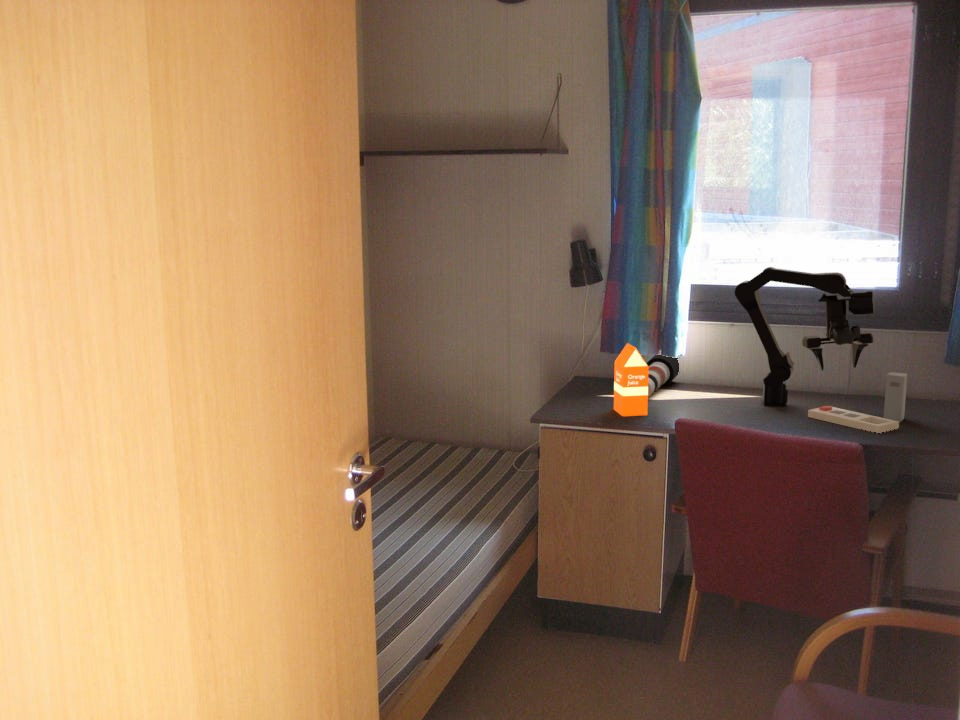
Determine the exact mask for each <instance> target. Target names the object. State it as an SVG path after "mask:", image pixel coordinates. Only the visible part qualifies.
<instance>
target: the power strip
mask: <svg viewBox="0 0 960 720" xmlns="http://www.w3.org/2000/svg"><path fill="white" fill-rule="evenodd" d="M807 418H811V419H815V420H820V421H823V422H829V423H832V424H837V425H842V426H845V427H849V428H853V429H856V430H861V429H862V430H861V431H865V430H866V431H865V432H870V431H871V433H874V432H876V433H875V434H878V433H880V434H883V433H882V432H884V433H887V432H890V430H891V431H895V430H899V429H898V428H900V422H899V421H894V420H890V419H885V418H884V417H880V416H875V415H871V414H867V413H863V412H862V413H861V412H857V411H853V410H849V409H845V408H844V409H843V408H839V407H834V406H831V405H823V406H819V407H817V408H811V409H808V410H807ZM894 429H895V430H894ZM886 431H887V432H886Z"/></svg>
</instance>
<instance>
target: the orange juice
mask: <svg viewBox="0 0 960 720" xmlns="http://www.w3.org/2000/svg"><path fill="white" fill-rule="evenodd" d="M648 369H649V366H648V365H647V362H646V361H645V360H644V358H643V357H642V355H641V354H640V352H639V350H638V349H637V347H636V346H633V345H631V344H630V343H628V342H627V343H626V344H625V345H624V347H623V349H622V350H621V352H620V353H619V355H618V356H617V357H616V359H615V360H614V370H613V371H614V377H613V378H614V381H613V410H614V411H615V412H616V413H617V414H619V415H620V416H621V417H635V416H636V417H637V416H648V406H649V405H648V402H649V399H648V398H649V397H648Z"/></svg>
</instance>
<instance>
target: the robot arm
mask: <svg viewBox="0 0 960 720" xmlns="http://www.w3.org/2000/svg"><path fill="white" fill-rule="evenodd" d="M769 282H777V283H784V284H790V285H797V286H804V287H805V286H806V287H810V288H813V289H816V290H819V291H822V292H823V294H822V295H821V296H820V297H819V298H818V300H817V302H819V303H824V302H825V303H824V305H825V319H824V320H825V321H824V323H826V324H825V325H826V328H825V329H826V332H825V337H820V336H819V335H808V336H807V335H806V336H805V335H804V337H803V338H802V340H801V341H802V343H801V344H802V347H804V348H806V349H808V350H810V351H811V352H812V353H813V356H814V357H815V359H816V362H817V363H818V365H819V368H820V370H821V371H824V370H825V369H824V359H823V358H824V357H823V349H824V348H822V347H821V345H825V344H826V345H827V344H828V345H829V344H835V345H837V346H838V345H839V346H841V345H847V344H849V345H851V346H852V347H851V350H852V353H851V355H852V359H851V361H852V367H853V368H854V369H856V367H857V365H858V363H859V360H860V359H859V358H860V356H861V354H862V352H863V350H864V349H865V348H866V347H869V344H873V343H874V335H873V334H872V333H870V332H868V331H861V327H860V325H853V326H851V327H850V325H849V319H848V314H847V313H848V312H849V313H851V314H852V316H870V315H871V316H873V315H875V301H874V291H873V290H866V291H858V292H857V291H856V292H854V291H853V289H852V288H851V287H849V285H848V284H847V279H846V277H845V276H844V275H843V274H842V273H840V272H819V273H815V272H814V273H812V272H805V271H798V270H797V271H796V270H791V269H789V270H788V269H782V268H776V267H773V266H768V267H766V268H764V269H763V270H762V272H760V273H759V274H757V275H756V276H754V277H753V278H752V279H750V280H745V281H742V282H741V283H739V284H737V285H736V287H735V289H734V296H735V298H736V299H737V301H738V302H739V304H740V306H742V307H743V309H744V310H745V311H746V312H747V313H748V315H749V317H750V320H751V322H752V324H753V326H754V328H755V331H756V333H757V335H758V337H759V340H760V342H761V344H762V346H763V348H764V351H765V352H766V356H767V360H768V367H769V370H770V371H769V372H768V373H767V375H766V376H765V377H764V378H763V379H762V381H763V386H762V387H763V388H762V399H761V403H762V405H763V406H765V407H787V404H788V397H789V396H788V395H789V393H788V392H789V390H788V389H787V385H786V383H785V382H787V381H788V380H789V379H790V378H791V376H792V375H793V372H794V365H795V362H794V361H793V360H792V358H791V354H790V351H788V352H786V353H784V351H783V350H782V349H781V348H780V345H779V343H778V340H777V338H776V337H775V336H776V335H775V334H774V333H773V330H772V327H771V326H770V323H769V321H768V319H767V317H766V314H765V313H764V310H763V308H762V304H761V303H762V302H761V298H760V294H759V290H760V289H761V288H763V287H764V286H766V285H767V284H769ZM827 293H828V294H829V295H828V294H827ZM830 294H831V295H830ZM839 295H840V296H841V297H839ZM847 302H848V310H847Z"/></svg>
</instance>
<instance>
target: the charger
mask: <svg viewBox="0 0 960 720" xmlns="http://www.w3.org/2000/svg"><path fill="white" fill-rule="evenodd" d="M885 380H886V381H885V392H884V393H885V394H884V408H883V418H885V419H890V420H894V421H899V423H901V422H902V421H903V420H904V419H905V412H906V411H905V409H906V408H905V407H906V397H907V382H908V373H903V372H893V371H890V372H888V373H887V374H886V379H885Z"/></svg>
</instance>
